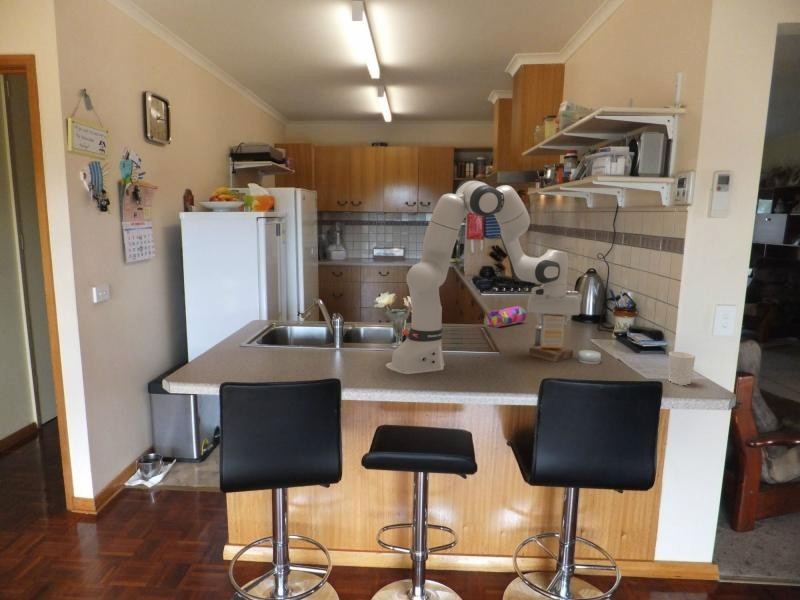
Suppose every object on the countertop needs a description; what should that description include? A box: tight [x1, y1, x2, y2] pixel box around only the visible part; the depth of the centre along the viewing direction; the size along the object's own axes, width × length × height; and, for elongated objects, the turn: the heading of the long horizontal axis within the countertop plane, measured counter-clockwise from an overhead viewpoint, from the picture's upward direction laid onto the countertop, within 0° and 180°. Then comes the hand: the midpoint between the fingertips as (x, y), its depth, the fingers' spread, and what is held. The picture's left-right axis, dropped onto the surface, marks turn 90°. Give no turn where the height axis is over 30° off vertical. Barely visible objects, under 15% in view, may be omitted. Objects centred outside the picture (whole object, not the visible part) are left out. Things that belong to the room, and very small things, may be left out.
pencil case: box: [488, 305, 527, 328], centre depth 268 cm, size 22×9×9 cm, turn 132°
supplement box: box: [540, 313, 566, 349], centre depth 208 cm, size 8×5×13 cm, turn 84°
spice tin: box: [534, 324, 541, 347], centre depth 225 cm, size 5×5×9 cm
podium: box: [528, 346, 574, 363], centre depth 210 cm, size 12×12×3 cm
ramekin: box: [578, 349, 602, 365], centre depth 204 cm, size 8×8×4 cm
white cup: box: [667, 350, 696, 385], centre depth 179 cm, size 8×8×10 cm
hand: (552, 324), depth 208 cm, fingers closed on supplement box, 8 cm apart
